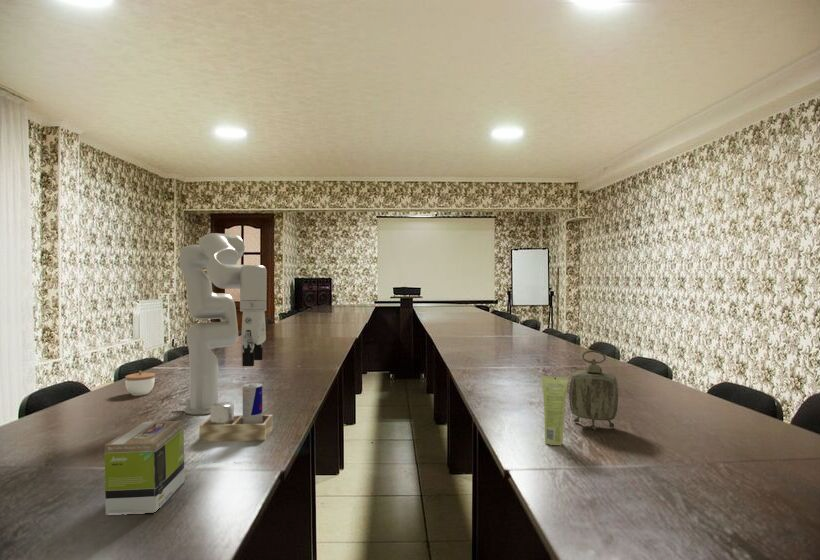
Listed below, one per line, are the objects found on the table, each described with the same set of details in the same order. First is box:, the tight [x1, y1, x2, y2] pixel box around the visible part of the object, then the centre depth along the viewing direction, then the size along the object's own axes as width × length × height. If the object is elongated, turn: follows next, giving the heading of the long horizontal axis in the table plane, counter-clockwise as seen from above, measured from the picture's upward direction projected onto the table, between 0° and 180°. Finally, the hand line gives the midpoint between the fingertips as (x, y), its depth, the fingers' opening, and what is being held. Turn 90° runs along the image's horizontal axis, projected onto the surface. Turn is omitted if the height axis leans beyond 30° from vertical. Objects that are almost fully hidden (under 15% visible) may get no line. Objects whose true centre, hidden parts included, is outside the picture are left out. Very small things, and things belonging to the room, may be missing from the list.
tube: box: [541, 375, 569, 446], centre depth 134 cm, size 6×5×20 cm
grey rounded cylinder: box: [210, 401, 235, 425], centre depth 136 cm, size 6×6×9 cm
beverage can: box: [242, 382, 263, 424], centre depth 137 cm, size 6×6×15 cm
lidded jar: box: [124, 370, 156, 397], centre depth 190 cm, size 11×11×9 cm
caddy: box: [198, 414, 274, 443], centre depth 137 cm, size 18×10×6 cm, turn 94°
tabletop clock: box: [568, 349, 619, 430], centre depth 148 cm, size 14×9×25 cm, turn 65°
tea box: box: [104, 420, 186, 515], centre depth 99 cm, size 15×10×15 cm, turn 5°
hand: (252, 363), depth 138 cm, fingers open, 9 cm apart
